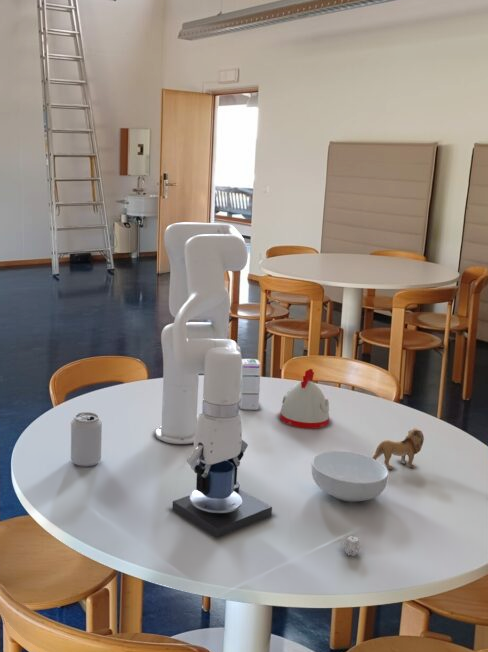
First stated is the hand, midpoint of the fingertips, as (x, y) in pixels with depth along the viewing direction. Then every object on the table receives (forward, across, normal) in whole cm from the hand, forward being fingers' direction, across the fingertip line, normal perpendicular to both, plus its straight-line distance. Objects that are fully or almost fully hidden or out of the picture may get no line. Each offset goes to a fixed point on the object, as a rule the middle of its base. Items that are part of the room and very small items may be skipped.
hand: (216, 486), depth 150 cm
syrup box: (+7, -55, -44) cm, 71 cm away
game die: (+7, -12, +26) cm, 29 cm away
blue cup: (+1, 0, 0) cm, 1 cm away
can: (+7, +8, -38) cm, 39 cm away
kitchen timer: (+7, -61, -27) cm, 67 cm away
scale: (+7, -2, 0) cm, 7 cm away
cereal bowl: (+7, -32, +10) cm, 34 cm away
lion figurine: (+7, -56, +7) cm, 57 cm away
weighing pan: (+3, 0, 0) cm, 3 cm away
